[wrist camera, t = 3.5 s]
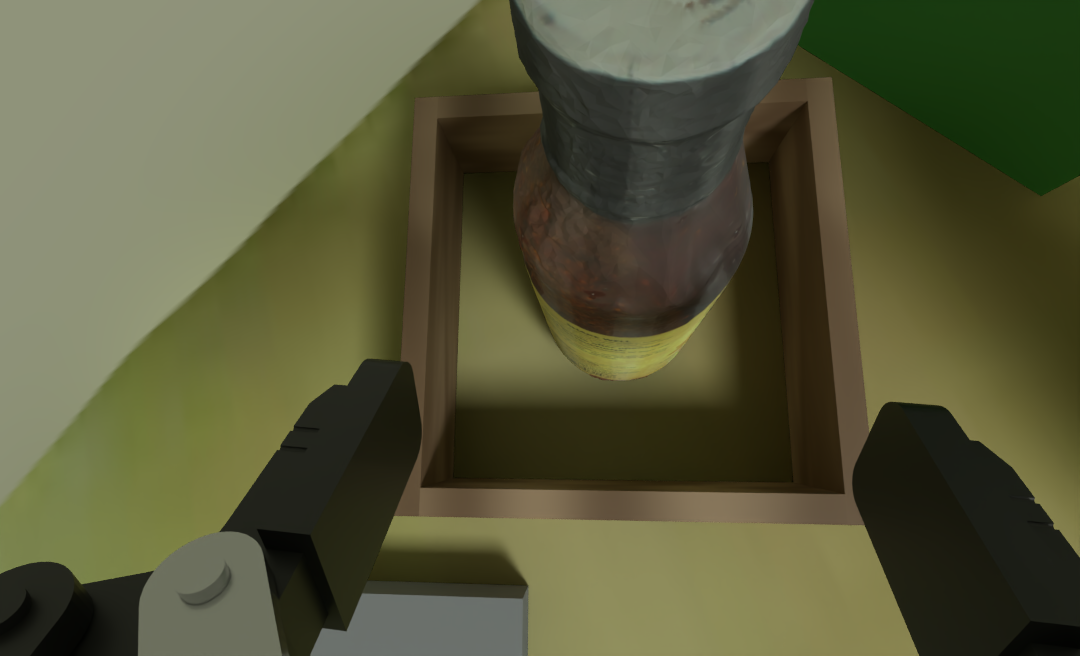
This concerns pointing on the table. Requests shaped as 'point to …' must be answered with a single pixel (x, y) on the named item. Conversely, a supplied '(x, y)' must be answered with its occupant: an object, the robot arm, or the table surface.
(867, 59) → the hardback book
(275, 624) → the robot arm
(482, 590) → the slate tile
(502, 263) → the table surface
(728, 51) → the sauce bottle
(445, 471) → the brown wooden tray
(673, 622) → the table surface
